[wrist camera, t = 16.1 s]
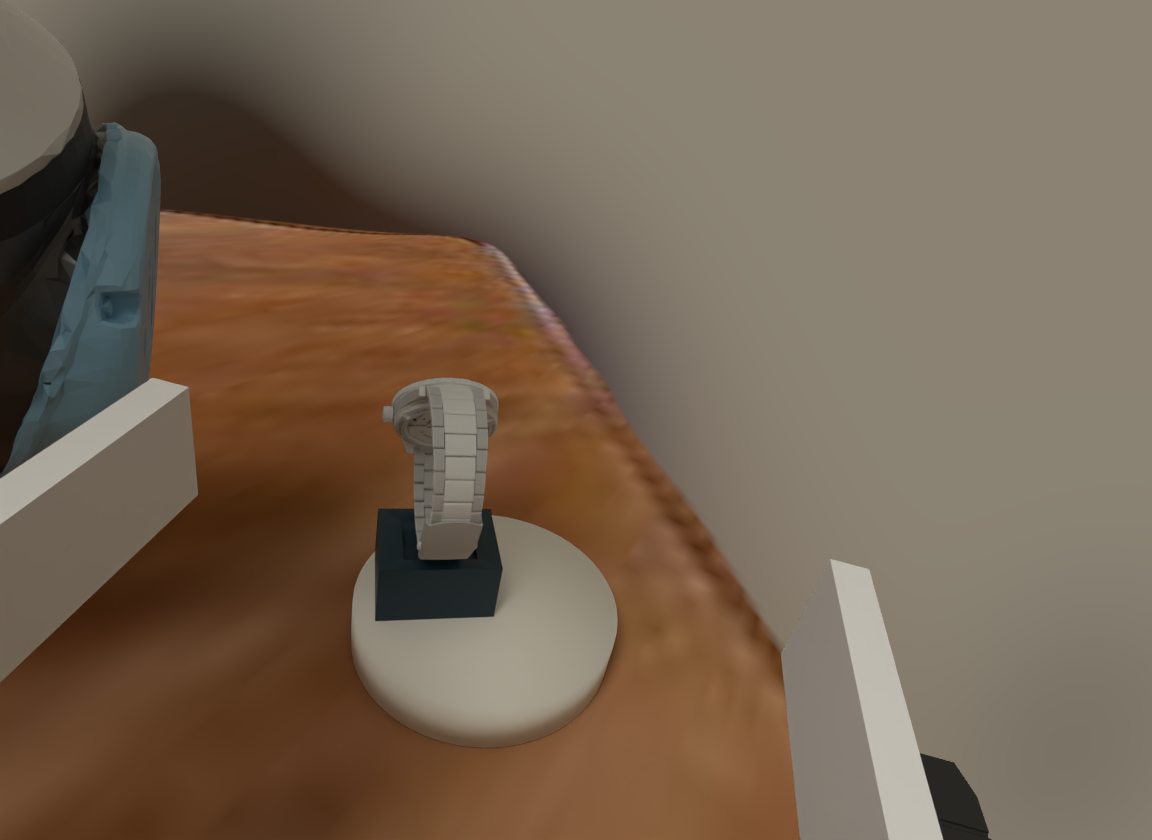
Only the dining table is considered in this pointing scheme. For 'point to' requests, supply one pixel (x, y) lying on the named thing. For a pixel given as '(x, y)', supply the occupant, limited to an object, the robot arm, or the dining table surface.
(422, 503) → the watch
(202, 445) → the dining table surface
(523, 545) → the display plinth
